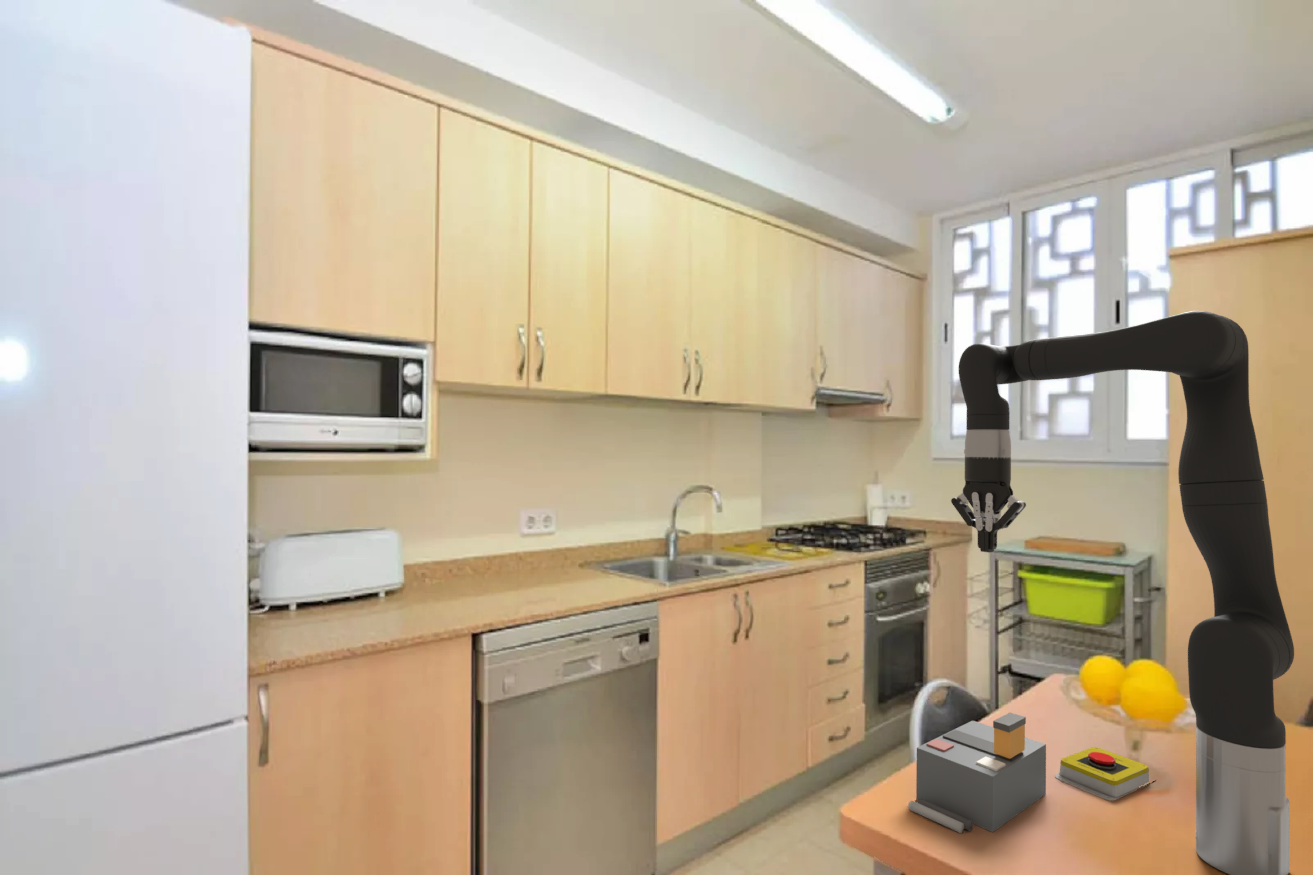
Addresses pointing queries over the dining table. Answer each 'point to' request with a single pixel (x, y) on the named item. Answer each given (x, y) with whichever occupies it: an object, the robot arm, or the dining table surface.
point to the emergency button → (1103, 773)
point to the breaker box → (980, 775)
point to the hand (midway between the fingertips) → (987, 551)
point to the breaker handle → (1009, 735)
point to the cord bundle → (941, 815)
